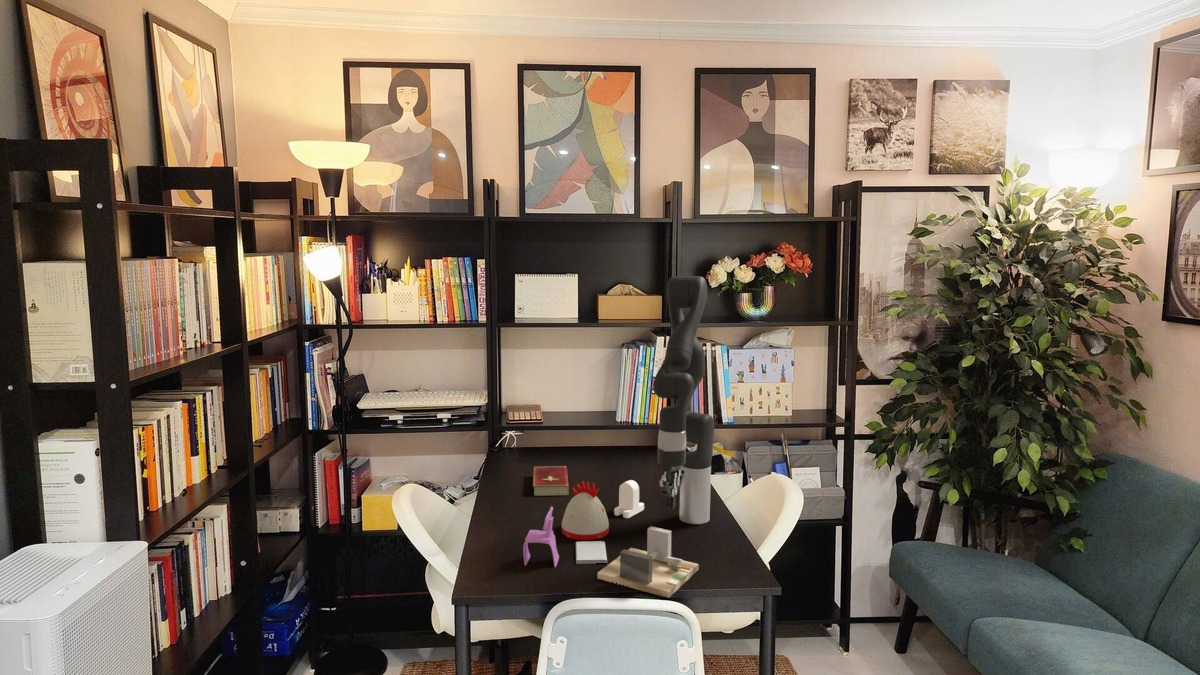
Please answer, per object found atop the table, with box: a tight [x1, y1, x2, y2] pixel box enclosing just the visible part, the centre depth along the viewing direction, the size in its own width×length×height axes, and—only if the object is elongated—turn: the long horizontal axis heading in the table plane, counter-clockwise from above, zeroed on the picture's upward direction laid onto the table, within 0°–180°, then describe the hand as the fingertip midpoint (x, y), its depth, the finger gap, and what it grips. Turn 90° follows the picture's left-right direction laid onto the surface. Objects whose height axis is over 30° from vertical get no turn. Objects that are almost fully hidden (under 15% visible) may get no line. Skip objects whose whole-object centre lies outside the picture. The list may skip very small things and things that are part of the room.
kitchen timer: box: [561, 480, 610, 541], centre depth 221 cm, size 14×14×15 cm
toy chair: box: [522, 506, 560, 568], centre depth 200 cm, size 8×9×15 cm
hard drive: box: [575, 540, 608, 565], centre depth 206 cm, size 2×8×12 cm
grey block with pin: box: [670, 559, 690, 571], centre depth 193 cm, size 2×5×2 cm, turn 60°
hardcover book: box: [532, 465, 570, 497], centre depth 262 cm, size 12×21×4 cm, turn 4°
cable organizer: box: [613, 479, 645, 519], centre depth 237 cm, size 5×10×10 cm, turn 145°
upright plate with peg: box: [646, 525, 684, 565], centre depth 195 cm, size 7×10×8 cm
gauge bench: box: [597, 547, 700, 599], centre depth 194 cm, size 18×20×8 cm
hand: (670, 508), depth 203 cm, fingers closed
